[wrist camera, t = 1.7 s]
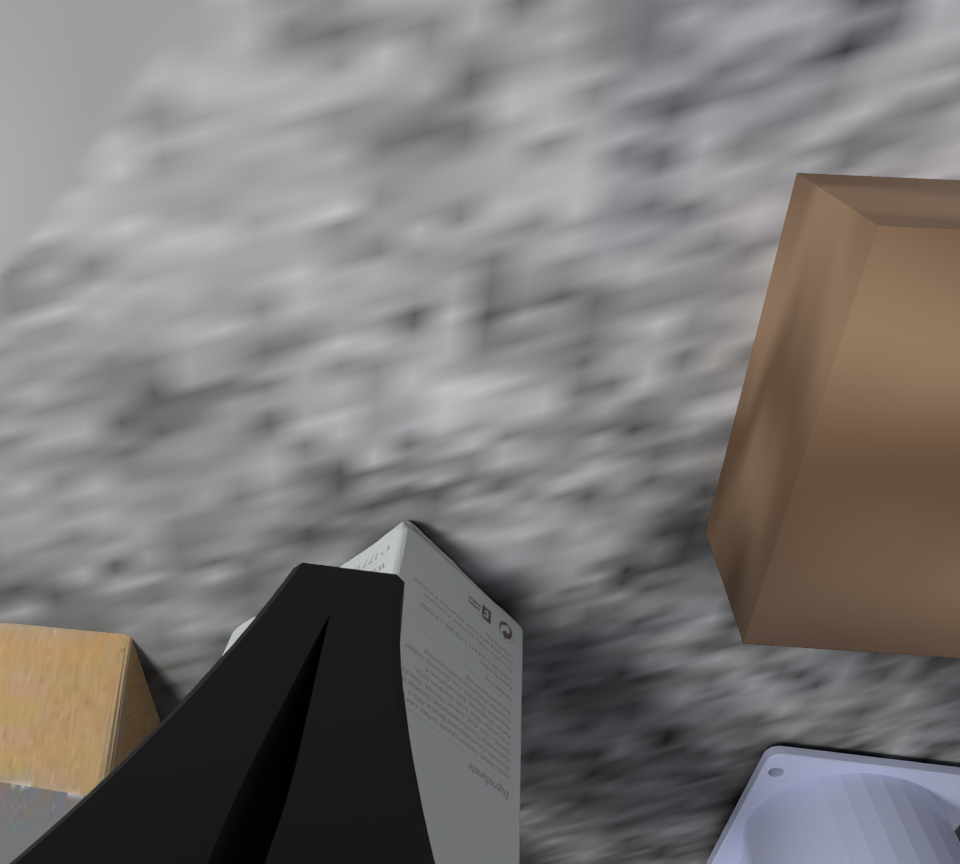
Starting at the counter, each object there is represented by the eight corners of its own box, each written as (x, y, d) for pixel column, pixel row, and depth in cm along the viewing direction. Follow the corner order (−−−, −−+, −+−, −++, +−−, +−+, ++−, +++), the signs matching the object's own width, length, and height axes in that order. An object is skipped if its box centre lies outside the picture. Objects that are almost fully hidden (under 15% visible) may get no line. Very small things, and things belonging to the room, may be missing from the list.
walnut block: (981, 542, 21) (1085, 666, 17) (703, 525, 21) (743, 643, 17) (1164, 187, 16) (1374, 249, 12) (792, 170, 16) (878, 225, 12)
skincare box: (408, 511, 21) (228, 1300, 8) (533, 629, 23) (543, 1393, 10) (225, 631, 24) (-110, 1341, 11) (351, 725, 26) (189, 1405, 14)
